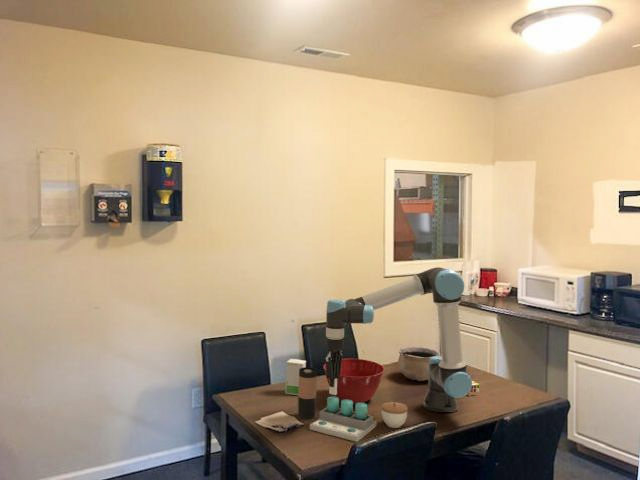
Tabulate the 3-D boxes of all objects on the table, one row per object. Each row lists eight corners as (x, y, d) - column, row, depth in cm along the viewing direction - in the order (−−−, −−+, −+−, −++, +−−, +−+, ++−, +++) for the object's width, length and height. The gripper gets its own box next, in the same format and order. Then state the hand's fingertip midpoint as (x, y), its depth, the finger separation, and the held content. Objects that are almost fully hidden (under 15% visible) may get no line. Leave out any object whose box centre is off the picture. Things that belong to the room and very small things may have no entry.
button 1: (368, 416, 215) (369, 404, 215) (363, 420, 211) (364, 407, 211) (358, 413, 217) (358, 401, 217) (353, 417, 213) (353, 405, 213)
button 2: (354, 413, 218) (354, 401, 218) (349, 416, 214) (349, 404, 214) (344, 410, 221) (344, 398, 220) (338, 414, 216) (339, 402, 216)
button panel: (376, 426, 218) (376, 414, 218) (356, 441, 202) (357, 429, 202) (331, 415, 228) (331, 403, 228) (309, 429, 213) (310, 417, 213)
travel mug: (305, 411, 232) (307, 366, 232) (319, 415, 228) (320, 369, 227) (294, 416, 227) (295, 369, 226) (307, 420, 222) (308, 373, 221)
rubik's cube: (479, 395, 260) (479, 384, 260) (469, 396, 258) (470, 385, 258) (472, 391, 265) (472, 380, 265) (462, 392, 263) (463, 381, 263)
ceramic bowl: (392, 373, 292) (393, 346, 292) (429, 372, 296) (430, 345, 296) (405, 386, 271) (406, 357, 270) (446, 385, 275) (447, 356, 274)
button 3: (340, 409, 222) (340, 397, 221) (335, 413, 217) (335, 401, 217) (330, 407, 224) (330, 395, 224) (324, 410, 220) (325, 398, 220)
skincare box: (284, 394, 254) (285, 361, 253) (288, 389, 260) (289, 358, 260) (301, 395, 252) (302, 363, 251) (305, 391, 258) (306, 359, 258)
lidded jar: (404, 420, 226) (405, 398, 225) (409, 430, 215) (410, 407, 214) (379, 419, 225) (379, 398, 225) (383, 430, 214) (383, 407, 214)
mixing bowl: (380, 413, 233) (381, 378, 232) (316, 406, 239) (317, 372, 238) (385, 392, 261) (386, 361, 260) (328, 387, 266) (329, 356, 266)
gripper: (334, 333, 227) (332, 388, 228) (319, 339, 215) (317, 396, 217) (350, 335, 223) (348, 391, 224) (335, 341, 212) (333, 400, 213)
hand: (333, 393), depth 220 cm, fingers closed
